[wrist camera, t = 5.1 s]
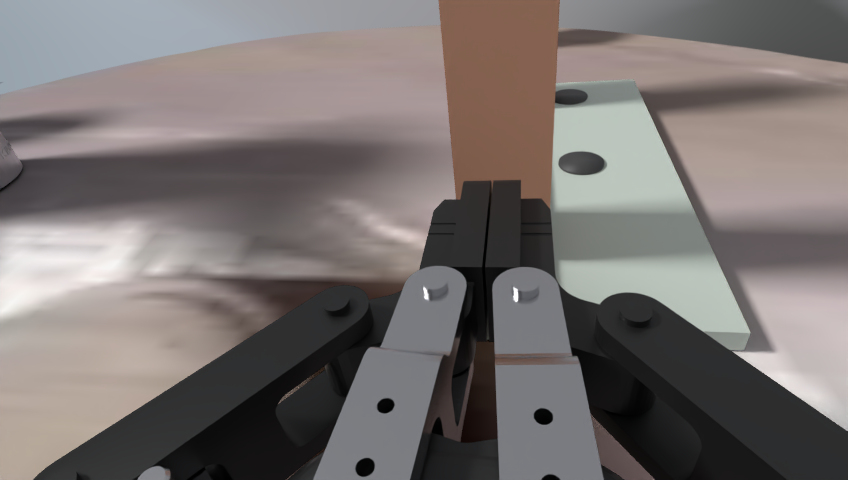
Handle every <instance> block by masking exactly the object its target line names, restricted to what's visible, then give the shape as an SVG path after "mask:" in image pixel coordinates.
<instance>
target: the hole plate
mask: <svg viewBox="0 0 848 480" xmlns="http://www.w3.org/2000/svg"><path fill="white" fill-rule="evenodd" d="M550 209H551V221H552V236H553V248H554V262H555V275H556V279H557V281H558V283H559V284H560V286H561V287H562V288H563V289H564V290H565V291H567V292H568V293H569V294H571V295H573V296H575V297H577V298H579V299H582V300H585V301H589V302H593V303H597V304H600V303H601V302H602V301H603V300H604V299H605V298H607V297H609V296H611V295H614V294H617V293H624V292H631V293H639V294H644V295H647V296H650V297H652V298H654V299H656V300H658V301H659V302H661V303H662V304H664V305H665V306H667V307H668V308H670V309H671V310H672V311H674V312H675V313H677V314H678V315H680V316H681V317H683V318H684V319H685V320H687V321H688V322H690V323H691V324H693V325H694V326H696V327H697V328H699V329H700V330H701V331H703V332H704V333H706V334H707V335H709V336H710V337H712V338H713V339H714V340H716V341H717V342H719V343H720V344H722V345H723V346H725V347H726V348H727V349H729V350H739V351H744V349H745V346H746V344H747V341H748V339H749V336H750V334H751V332H750V330H749V328H748V326H747V324H746V321H745V319H744V317H743V315H742V313H741V311H740V308H739V306H738V304H737V302H736V300H735V298H734V295H733V293H732V291H731V289H730V287H729V285H728V282H727V280H726V278H725V276H724V274H723V272H722V270H721V267H720V265H719V263H718V261H717V259H716V257H715V254H714V252H713V250H712V248H711V246H710V244H709V241H708V239H707V237H706V235H705V233H704V231H703V228H702V226H701V224H700V222H699V220H698V218H697V215H696V213H695V211H694V209H693V207H692V205H691V202H690V200H689V198H688V196H687V194H686V192H685V189H684V187H683V185H682V183H681V181H680V179H679V176H678V174H677V172H676V170H675V168H674V166H673V164H672V161H671V159H670V157H669V155H668V153H667V151H666V148H665V146H664V144H663V142H662V140H661V138H660V135H659V133H658V131H657V129H656V127H655V125H654V122H653V120H652V118H651V116H650V114H649V112H648V109H647V107H646V105H645V103H644V101H643V99H642V96H641V94H640V92H639V90H638V88H637V86H636V83H635V81H634V79H628V80H609V81H590V82H571V83H556V92H555V113H554V135H553V157H552V179H551V201H550ZM488 329H489V328H488ZM488 335H489V333H488V330H487V340H489V339H488V337H489V336H488Z"/></svg>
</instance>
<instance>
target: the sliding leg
mask: <svg viewBox="0 0 848 480" xmlns="http://www.w3.org/2000/svg"><path fill="white" fill-rule="evenodd" d="M559 4H560V0H439V10H440V21H441V33H442V44H443V55H444V66H445V78H446V89H447V100H448V112H449V123H450V134H451V146H452V157H453V168H454V180H455V191H456V200H459V199H460V198H461V193H462V187H463V182H464V181H489V180H491V182H492V188H493V180H521V199H530V198H542V200H543V201H544V202H545V203H546V205H547V206H548V207H549V208H550V201H551V179H552V157H553V135H554V113H555V92H556V70H557V48H558V24H559Z"/></svg>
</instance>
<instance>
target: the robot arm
mask: <svg viewBox="0 0 848 480" xmlns="http://www.w3.org/2000/svg"><path fill="white" fill-rule="evenodd" d="M22 167H23V165H22V163H21V162H20V160H19V159H18V157H17V156H16V154H15V152H14V151H13V149H12V148H11V145H10V144H9V142H8V141H7V139H5V137H4V136H3V134H2V133H1V131H0V189H1V188H3V187H4V186H6V185H7V184H8V183H10V182H11V181H12V180H13V179H15V178H16V177H17V176H18V175H19V173H20V172H21V170H22ZM488 327H489V342H494V344H495V375H496V402H497V428H498V439H491V440H485V441H479V442H473V443H462V442H460V440H461V433H462V428H463V423H464V417H465V412H466V407H467V402H468V396H469V391H470V386H471V381H472V375H473V369H474V364H473V360H474V357H475V350H476V341H482V342H487V328H488ZM322 367H325V370H324V371H323V372H322V373H320V374H319V375H318V376H316V377H315V378H314V379H312V380H311V381H309V382H308V383H307V384H305V385H304V386H303V387H301V388H300V389H299V390H297V391H296V392H294V393H293V394H292V395H290V396H289V397H288V398H286V399H285V400H284V401H282V402H281V403H279V401H280V400H281V398H282V397H283V396H284V395H285V394H287V393H288V392H289V391H291V390H292V389H293V388H295V387H296V386H298V385H299V384H300V383H302V382H303V381H304V380H306V379H307V378H309V377H310V376H311V375H313V374H314V373H315V372H317V371H318V370H320V369H321V368H322ZM278 403H279V404H278ZM590 413H591V414H592V416H593V417H594V418H595V419H596V420H597V421H598V422H599V423H600V424H601V425H602V426H603V427H604V428H605V429H606V430H607V431H608V432H609V433H610V434H611V435H612V436H613V437H614V438H615V439H616V440H617V441H618V442H619V443H620V444H621V445H622V446H623V447H624V448H625V449H626V450H627V451H628V452H629V453H630V454H631V455H632V456H633V457H634V458H635V460H636V461H637V462H638V463H639V464H640V465H641V466H642V467H643V468H644V469H645V470H646V471H647V472H648V473H649V474H650V475H651V476H652V477H653V478H654V479H655V480H848V431H846V430H845V429H843V428H842V427H840V426H839V425H837V424H836V423H835V422H833V421H832V420H830V419H829V418H827V417H826V416H824V415H823V414H821V413H820V412H819V411H817V410H816V409H814V408H813V407H811V406H810V405H808V404H807V403H806V402H804V401H803V400H801V399H800V398H798V397H797V396H795V395H794V394H793V393H791V392H790V391H788V390H787V389H785V388H784V387H782V386H781V385H780V384H778V383H777V382H775V381H774V380H772V379H771V378H769V377H768V376H767V375H765V374H764V373H762V372H761V371H759V370H758V369H756V368H755V367H753V366H752V365H751V364H749V363H748V362H746V361H745V360H743V359H742V358H740V357H739V356H738V355H736V354H735V353H733V352H732V351H730V350H729V349H727V348H726V347H725V346H723V345H722V344H720V343H719V342H717V341H716V340H714V339H713V338H712V337H710V336H709V335H707V334H706V333H704V332H703V331H701V330H700V329H699V328H697V327H696V326H694V325H693V324H691V323H690V322H688V321H687V320H685V319H684V318H683V317H681V316H680V315H678V314H677V313H675V312H674V311H672V310H671V309H670V308H668V307H667V306H665V305H664V304H662V303H661V302H659V301H658V300H656V299H654V298H652V297H650V296H647V295H644V294H639V293H631V292H624V293H617V294H614V295H611V296H609V297H607V298H605V299H604V300H603V301H602V302H601V303H600V304H597V303H593V302H589V301H585V300H582V299H579V298H577V297H575V296H573V295H571V294H569V293H568V292H567V291H565V290H564V289H563V288H562V287H561V286H560V284H559V283H558V281H557V279H556V275H555V262H554V248H553V236H552V221H551V209H550V208H549V207H548V206H547V205H546V203H545V202H544V201H543V200H542V198H530V199H521V180H493V188H492V182H491V180H489V181H464V182H463V187H462V193H461V198H460V199H459V200H444V201H443V202H442V203H441V204H440V205H439V206H438V207H437V208H436V209H435V210H434V212H433V216H432V220H431V226H430V229H429V233H428V237H427V241H426V245H425V249H424V253H423V257H422V261H421V265H420V269H419V271H417V272H415V273H414V274H412V275H411V276H410V277H409V278H408V279H407V281H406V283H405V285H404V287H403V290H402V291H400V292H398V293H395V294H392V295H389V296H385V297H380V298H375V299H371V300H369V299H368V296H367V295H366V293H365V292H364V291H363V290H361V289H360V288H357V287H355V286H349V285H342V286H335V287H331V288H328V289H326V290H324V291H322V292H320V293H319V294H317V295H316V296H314V297H312V298H311V299H309V300H308V301H306V302H305V303H303V304H301V305H300V306H298V307H297V308H295V309H294V310H292V311H290V312H289V313H287V314H286V315H284V316H283V317H281V318H279V319H278V320H276V321H275V322H273V323H272V324H270V325H268V326H267V327H265V328H264V329H262V330H261V331H259V332H257V333H256V334H254V335H253V336H251V337H250V338H248V339H247V340H245V341H243V342H242V343H240V344H239V345H237V346H236V347H234V348H232V349H231V350H229V351H228V352H226V353H225V354H223V355H221V356H220V357H218V358H217V359H215V360H214V361H212V362H210V363H209V364H207V365H206V366H204V367H203V368H201V369H199V370H198V371H196V372H195V373H193V374H192V375H190V376H188V377H187V378H185V379H184V380H182V381H181V382H179V383H178V384H176V385H174V386H173V387H171V388H170V389H168V390H167V391H165V392H163V393H162V394H160V395H159V396H157V397H156V398H154V399H152V400H151V401H149V402H148V403H146V404H145V405H143V406H141V407H140V408H138V409H137V410H135V411H134V412H132V413H130V414H129V415H127V416H126V417H124V418H123V419H121V420H120V421H118V422H116V423H115V424H113V425H112V426H110V427H109V428H107V429H105V430H104V431H102V432H101V433H99V434H98V435H96V436H94V437H93V438H91V439H90V440H88V441H87V442H85V443H83V444H82V445H80V446H79V447H77V448H76V449H74V450H72V451H71V452H69V453H68V454H66V455H65V456H63V457H61V458H60V459H58V460H57V461H55V462H54V463H52V464H51V465H49V466H48V467H47V468H45V469H44V470H43V471H42V472H41V473H39V474H38V475H37V476H36V477H35V478H34V479H33V480H286V479H287V478H288V477H289V476H291V475H292V474H293V473H294V472H295V471H297V470H298V469H299V468H300V467H301V466H303V465H304V464H305V463H306V462H308V461H309V460H310V459H311V458H312V457H314V456H315V455H316V454H317V453H318V452H320V451H321V450H322V449H323V448H325V447H326V446H327V447H326V449H325V452H323V453H321V454H319V455H318V456H316V457H315V458H313V459H312V460H310V461H309V462H308V463H307V464H305V465H304V466H303V467H302V468H301V469H299V470H298V471H297V472H296V473H295V474H294V475H293V476H291V477H290V478H289V479H288V480H624V479H623V478H621V477H620V476H619V475H617V474H616V473H614V472H612V471H611V470H609V469H607V468H606V467H604V466H602V465H601V464H600V459H599V454H598V449H597V444H596V439H595V434H594V430H593V425H592V420H591V415H590Z"/></svg>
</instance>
